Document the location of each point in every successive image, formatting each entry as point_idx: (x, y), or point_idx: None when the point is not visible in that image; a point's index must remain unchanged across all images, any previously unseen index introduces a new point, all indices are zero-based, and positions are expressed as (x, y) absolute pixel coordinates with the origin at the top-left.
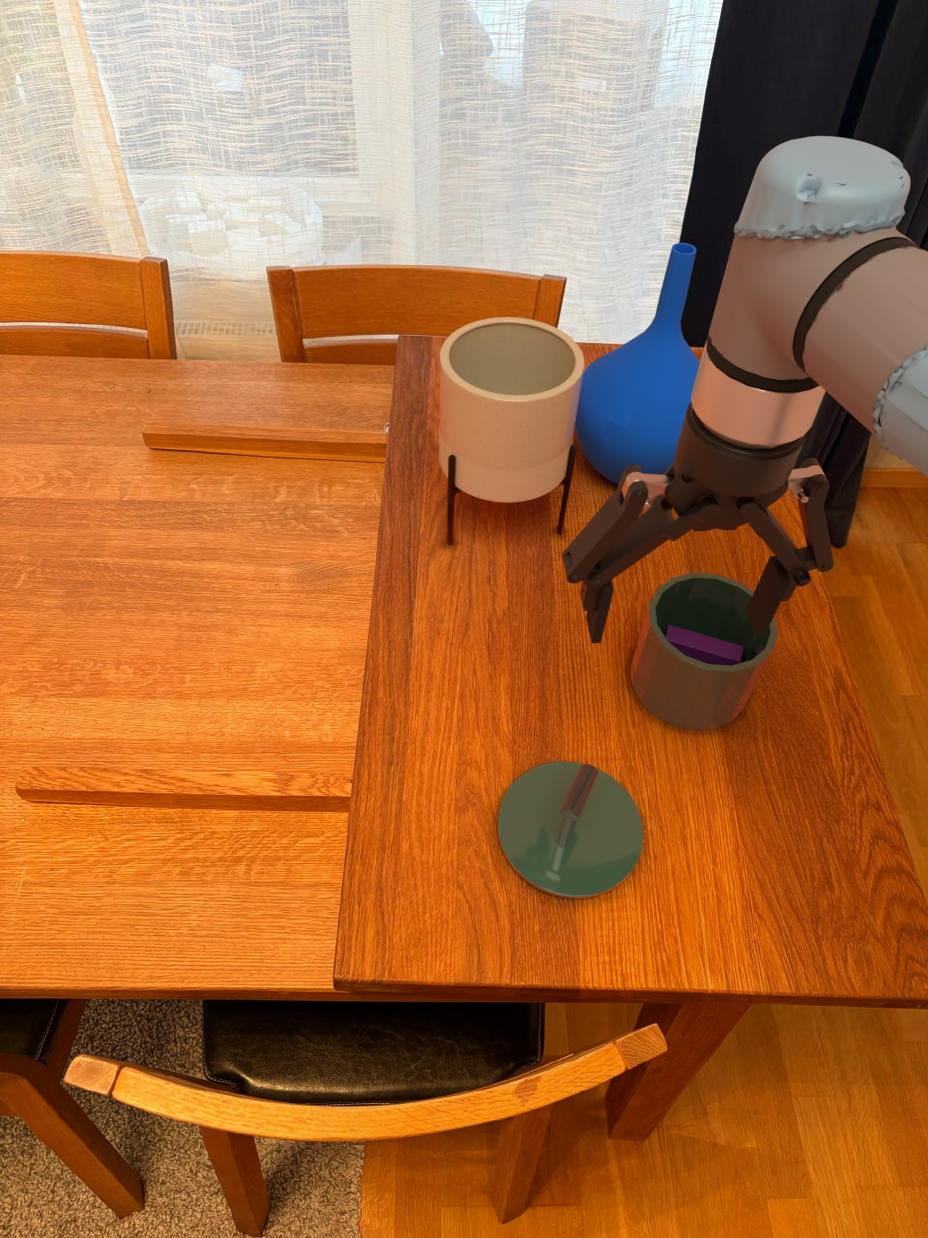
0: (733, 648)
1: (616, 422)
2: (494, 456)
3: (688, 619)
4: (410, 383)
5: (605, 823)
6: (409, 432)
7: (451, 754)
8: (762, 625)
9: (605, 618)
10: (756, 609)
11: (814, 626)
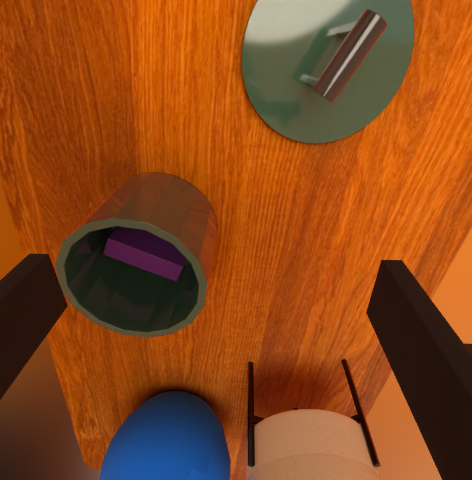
0: (113, 252)
1: (200, 473)
2: (347, 475)
3: (155, 285)
4: None
5: (284, 57)
6: None
7: (417, 163)
8: (23, 273)
9: (423, 320)
10: (36, 309)
11: None
